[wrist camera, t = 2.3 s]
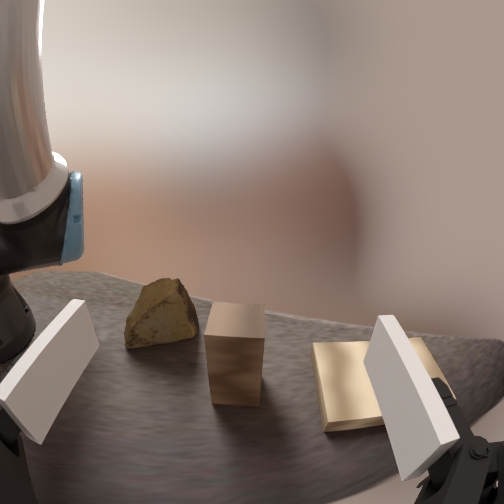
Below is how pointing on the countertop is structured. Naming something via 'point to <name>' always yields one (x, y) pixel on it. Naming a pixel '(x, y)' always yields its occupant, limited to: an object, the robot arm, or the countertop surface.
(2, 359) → the robot arm
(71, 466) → the countertop surface
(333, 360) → the cutting board
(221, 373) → the walnut block
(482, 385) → the countertop surface
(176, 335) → the rock
